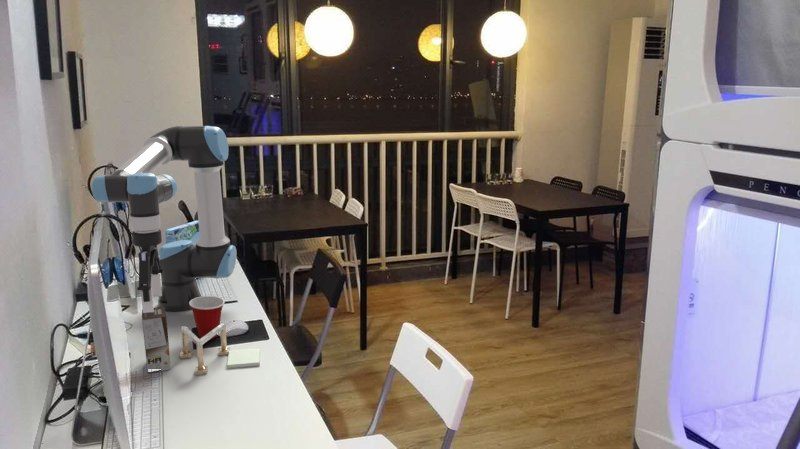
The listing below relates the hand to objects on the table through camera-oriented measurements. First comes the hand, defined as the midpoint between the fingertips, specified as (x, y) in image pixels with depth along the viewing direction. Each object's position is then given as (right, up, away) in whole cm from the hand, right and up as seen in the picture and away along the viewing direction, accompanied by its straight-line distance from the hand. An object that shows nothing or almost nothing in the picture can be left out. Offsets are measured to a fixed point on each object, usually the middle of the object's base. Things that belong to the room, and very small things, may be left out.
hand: (152, 303), depth 179 cm
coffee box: (0, -18, +4) cm, 19 cm away
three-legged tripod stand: (+12, -18, +7) cm, 23 cm away
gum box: (-17, -1, +83) cm, 84 cm away
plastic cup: (+9, -14, +25) cm, 30 cm away
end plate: (+24, -17, +8) cm, 31 cm away
